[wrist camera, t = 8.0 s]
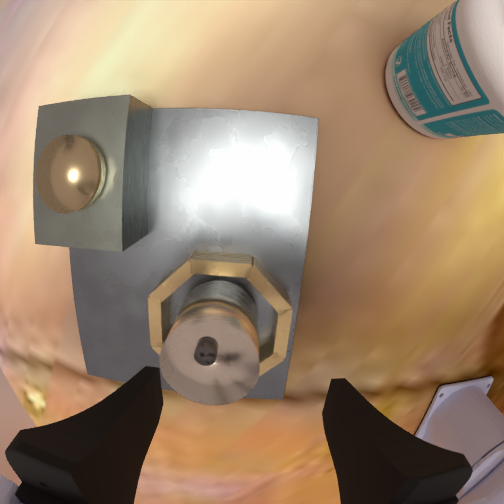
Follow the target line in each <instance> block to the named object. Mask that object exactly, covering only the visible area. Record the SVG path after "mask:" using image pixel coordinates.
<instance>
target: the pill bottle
mask: <svg viewBox="0 0 504 504" xmlns="http://www.w3.org/2000/svg"><path fill="white" fill-rule="evenodd" d="M385 79H386V86H387V90H388V94H389V96H390V99H391V101H392V103H393V105H394V107H395V108H396V110H397V112H398V113H399V114H400V116H401V117H402V118H403V119H404V120H405V121H406V122H407V123H408V124H409V125H410V126H411V127H412V128H414V129H415V130H417V131H418V132H420V133H422V134H424V135H426V136H429V137H432V138H437V139H448V138H458V137H467V136H476V135H486V134H498V133H504V0H457V1H455V2H454V3H453V4H451V5H450V6H449V7H447V8H446V9H445V10H443V11H442V12H441V13H439V14H438V15H437V16H435V17H434V18H433V19H431V20H430V21H429V22H427V23H426V24H425V25H424V26H422V27H421V28H420V29H418V30H417V31H416V32H415V33H413V34H412V35H411V36H410V37H408V38H407V39H406V40H405V41H403V42H402V43H401V44H400V45H399V46H397V47H396V48H395V49H394V51H393V52H392V53H391V55H390V57H389V59H388V62H387V65H386V72H385Z"/></svg>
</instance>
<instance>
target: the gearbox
mask: <svg viewBox="0 0 504 504" xmlns="http://www.w3.org/2000/svg"><path fill="white" fill-rule="evenodd" d="M318 120H319V118H314V117H306V116H298V115H290V114H281V113H271V112H260V111H246V110H230V109H204V108H155V109H153V108H152V107H150V106H148V105H147V104H145V103H143V102H142V101H140V100H138V99H137V98H135V97H133V96H131V95H119V96H108V97H98V98H90V99H82V100H74V101H67V102H61V103H55V104H49V105H43V106H39V110H38V118H37V128H36V138H35V152H34V176H33V208H34V231H35V244H42V245H53V246H63V247H69V249H70V263H71V274H72V284H73V293H74V301H75V308H76V315H77V321H78V327H79V333H80V339H81V344H82V349H83V354H84V359H85V364H86V368H87V373H88V374H89V375H93V376H98V377H102V378H107V379H111V380H116V381H121V382H127V381H128V380H130V379H131V378H132V377H133V376H134V375H135V374H137V373H138V372H139V371H140V370H141V369H143V368H144V367H145V366H151V367H158V368H160V363H159V358H160V352H161V349H162V347H163V345H164V343H165V340H166V338H167V336H168V334H169V332H170V330H171V328H172V326H173V324H174V322H175V319H176V317H177V315H178V313H179V311H180V309H181V307H182V305H183V303H184V301H185V299H186V297H187V296H188V294H189V293H190V292H191V291H192V290H193V289H194V288H195V287H197V286H199V285H200V284H203V283H205V282H209V281H226V282H230V283H233V284H236V285H238V286H239V287H241V288H242V289H244V290H245V291H246V292H247V293H248V294H249V295H250V296H251V298H252V299H253V301H254V303H255V305H256V308H257V315H258V340H259V366H260V372H259V377H258V380H257V383H256V385H255V386H254V388H253V389H252V390H251V391H250V392H249V393H248V394H247V395H246V396H244V397H243V398H259V399H283V396H284V390H285V385H286V379H287V374H288V368H289V362H290V356H291V350H292V344H293V338H294V332H295V325H296V319H297V312H298V305H299V298H300V291H301V284H302V277H303V269H304V261H305V253H306V245H307V237H308V228H309V220H310V210H311V201H312V191H313V181H314V170H315V159H316V147H317V134H318ZM160 377H161V387H162V389H167V390H173V389H172V388H171V387H170V385H169V384H168V383H167V382H166V380H165V379H164V377H163V375H162V372H161V369H160ZM174 391H175V390H174Z"/></svg>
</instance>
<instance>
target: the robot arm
mask: <svg viewBox="0 0 504 504" xmlns="http://www.w3.org/2000/svg"><path fill="white" fill-rule="evenodd" d="M493 380H494V378H493V377H492V376H490V377H485V378H481V379H476V380H471V381H465V382H460V383H454V384H448V385H443V386H441V387H439V389H438V391H437V393H436V395H435V397H434V399H433V401H432V403H431V405H430V407H429V409H428V411H427V413H426V415H425V417H424V419H423V421H422V423H421V425H420V427H419V429H418V431H417V432H416V434H415V436H414V435H412V434H411V433H409V432H407V431H405V430H404V429H402V428H401V427H399V426H398V425H396V424H395V423H393V422H392V421H391V420H389V419H388V418H387V417H386V416H384V415H383V414H382V413H381V412H379V411H378V410H377V409H376V408H375V407H374V406H373V405H372V404H370V403H369V402H368V401H367V400H366V399H365V398H364V397H363V396H362V395H361V394H360V393H359V392H358V391H357V390H356V389H355V388H354V387H353V386H352V385H351V384H350V383H349V382H348V381H347V380H346V379H345V378H341V379H331V382H330V386H329V390H328V394H327V397H326V401H325V405H324V408H323V412H322V416H323V424H324V430H325V435H326V438H327V442H328V446H329V449H330V452H331V456H332V459H333V463H334V466H335V470H336V474H337V478H338V485H339V492H340V500H341V504H504V416H503V414H502V413H501V412H500V411H499V410H498V409H497V407H496V406H495V405H494V404H493V403H492V402H491V400H490V399H489V398H488V397H487V396H486V394H487V392H488V391H489V389H490V387H491V384H492V382H493ZM162 407H163V396H162V387H161V377H160V368H158V367H151V366H145V367H144V368H143V369H141V370H140V371H139V372H138V373H137V374H135V375H134V376H133V377H132V378H131V379H130V380H128V381H127V382H126V383H125V384H123V385H122V386H121V387H120V388H118V389H117V390H116V391H115V392H113V393H112V394H110V395H109V396H108V397H106V398H105V399H103V400H102V401H100V402H99V403H97V404H95V405H94V406H92V407H90V408H88V409H86V410H85V411H83V412H80V413H78V414H76V415H74V416H71V417H69V418H66V419H64V420H61V421H58V422H55V423H52V424H48V425H44V426H40V427H35V428H30V429H24V430H20V431H19V433H18V434H17V435H16V437H15V438H14V439H13V441H12V442H11V444H10V445H9V446H8V448H7V449H6V451H5V454H6V458H7V460H8V462H9V464H10V465H11V467H12V468H13V470H14V471H15V473H16V474H17V475H18V477H19V478H20V479H21V481H22V483H21V484H20V486H17V485H16V484H15V483H14V482H12V481H11V480H9V479H7V478H5V477H4V476H2V475H0V504H134V499H135V494H136V489H137V484H138V480H139V476H140V472H141V468H142V465H143V462H144V459H145V456H146V454H147V451H148V449H149V446H150V444H151V441H152V438H153V436H154V433H155V431H156V428H157V426H158V423H159V419H160V415H161V411H162Z"/></svg>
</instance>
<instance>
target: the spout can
mask: <svg viewBox="0 0 504 504" xmlns="http://www.w3.org/2000/svg"><path fill="white" fill-rule="evenodd" d="M159 363H160V369H161V372H162V375H163V377H164V379H165V380H166V382H167V383H168V384H169V385H170V387H171V388H172V389H173V390H175V391H176V392H177V393H178V394H180V395H181V396H183V397H185V398H186V399H189V400H191V401H193V402H196V403H200V404H205V405H224V404H229V403H232V402H235V401H237V400H240V399H241V398H243V397H244V396H246V395H247V394H248V393H249V392H250V391H251V390H252V389H253V388H254V386H255V385H256V383H257V380H258V377H259V372H260V366H259V340H258V315H257V308H256V305H255V303H254V301H253V299H252V298H251V296H250V295H249V294H248V293H247V292H246V291H245V290H244V289H242V288H241V287H239V286H238V285H236V284H233V283H230V282H226V281H209V282H205V283H203V284H200V285H199V286H197V287H195V288H194V289H193V290H192V291H191V292H190V293H189V294H188V296H187V297H186V299H185V301H184V303H183V305H182V307H181V309H180V311H179V313H178V315H177V317H176V319H175V322H174V324H173V326H172V328H171V330H170V332H169V334H168V336H167V338H166V340H165V343H164V345H163V347H162V349H161V352H160V358H159Z"/></svg>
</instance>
